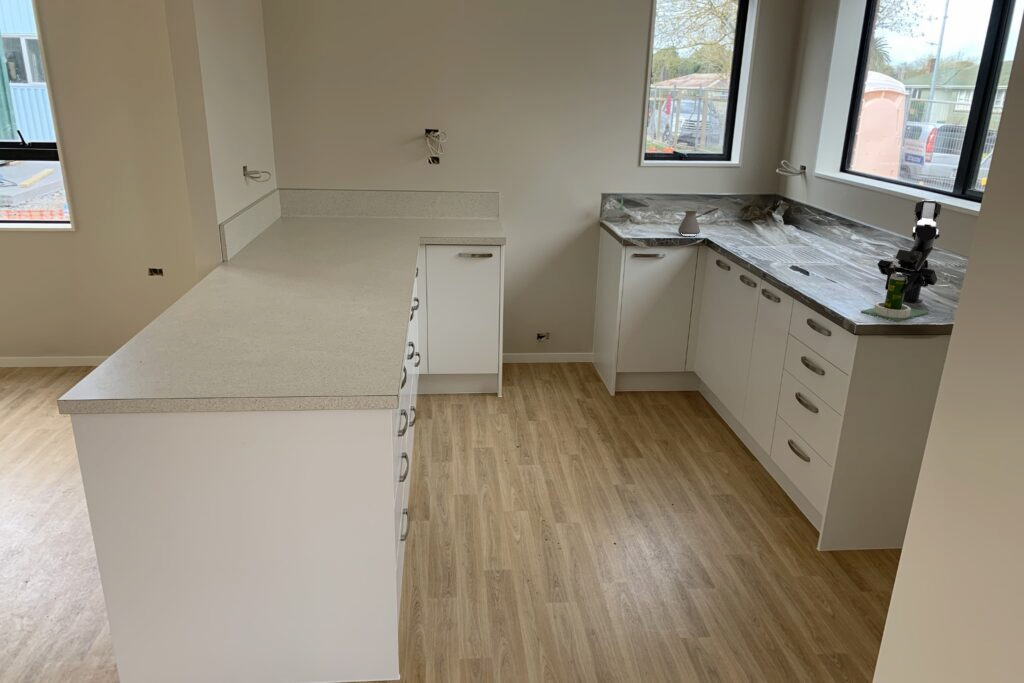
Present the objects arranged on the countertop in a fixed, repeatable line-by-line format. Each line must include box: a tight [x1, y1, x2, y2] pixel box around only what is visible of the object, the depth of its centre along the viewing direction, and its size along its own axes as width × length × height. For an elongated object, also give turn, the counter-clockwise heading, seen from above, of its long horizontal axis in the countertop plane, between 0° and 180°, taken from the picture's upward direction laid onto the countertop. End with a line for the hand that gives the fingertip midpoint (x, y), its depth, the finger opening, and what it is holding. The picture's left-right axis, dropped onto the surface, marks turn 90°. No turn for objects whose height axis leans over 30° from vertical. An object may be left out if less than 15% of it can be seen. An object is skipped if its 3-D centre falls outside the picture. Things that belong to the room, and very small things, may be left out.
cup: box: [873, 301, 912, 318], centre depth 251 cm, size 11×11×2 cm
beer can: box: [884, 273, 907, 310], centre depth 249 cm, size 5×5×12 cm
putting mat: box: [860, 307, 929, 323], centre depth 253 cm, size 20×13×1 cm, turn 124°
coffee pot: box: [677, 207, 720, 235], centre depth 386 cm, size 21×12×15 cm, turn 99°
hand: (893, 291), depth 248 cm, fingers closed on beer can, 5 cm apart
